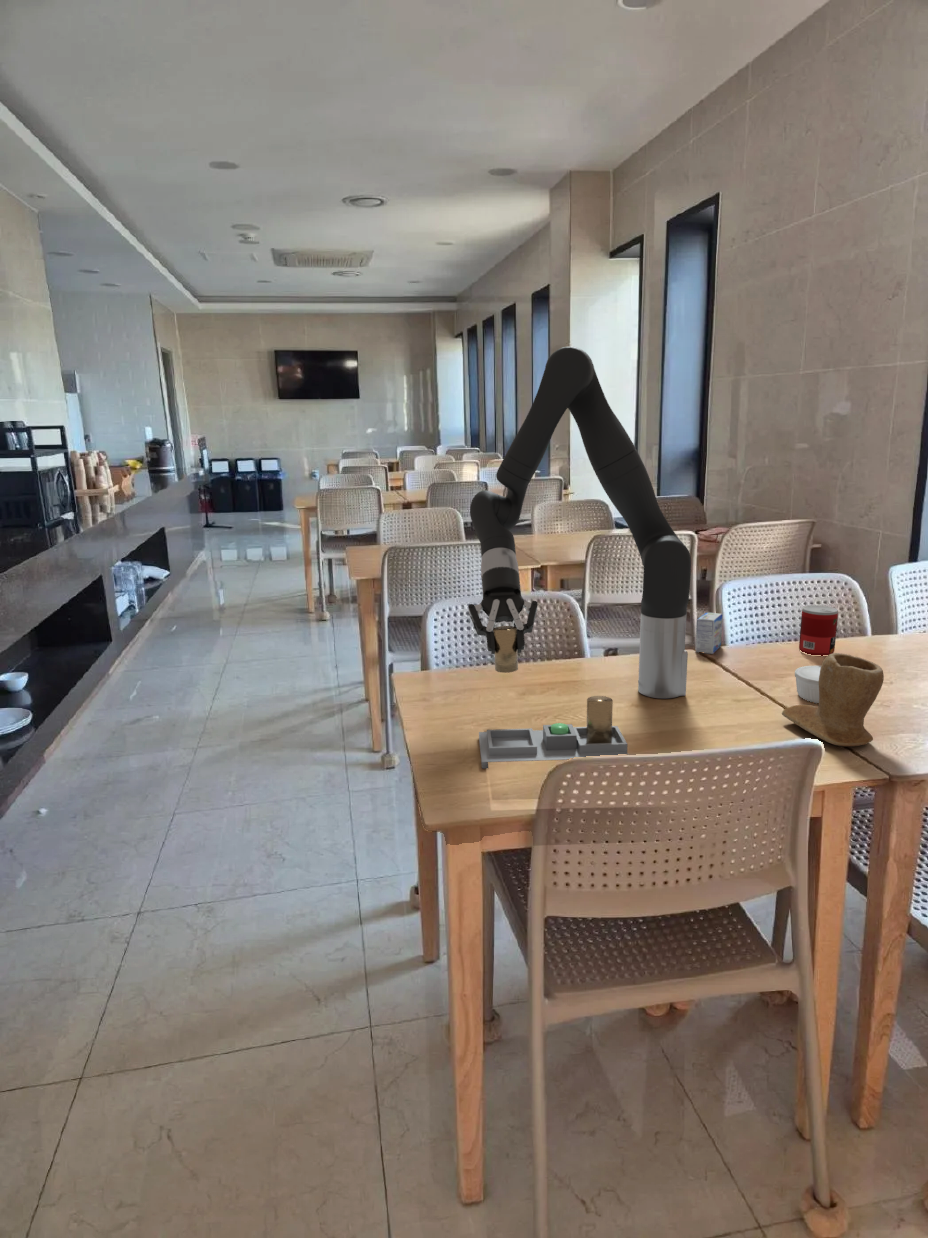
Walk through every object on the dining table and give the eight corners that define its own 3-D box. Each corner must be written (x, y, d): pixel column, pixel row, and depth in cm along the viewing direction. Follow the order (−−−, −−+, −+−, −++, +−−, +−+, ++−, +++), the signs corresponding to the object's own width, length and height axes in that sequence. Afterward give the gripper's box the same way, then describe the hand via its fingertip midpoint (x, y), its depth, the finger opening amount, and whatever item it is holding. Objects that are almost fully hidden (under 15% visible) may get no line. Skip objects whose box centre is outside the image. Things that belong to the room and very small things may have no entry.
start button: (566, 735, 139) (566, 723, 138) (569, 742, 136) (569, 729, 135) (549, 736, 139) (549, 723, 138) (552, 742, 136) (552, 730, 135)
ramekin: (860, 696, 161) (863, 672, 159) (841, 711, 153) (844, 686, 151) (805, 685, 168) (807, 661, 167) (784, 699, 160) (786, 674, 159)
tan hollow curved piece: (891, 747, 136) (901, 665, 132) (831, 754, 133) (839, 671, 130) (834, 716, 150) (841, 641, 147) (779, 722, 148) (785, 646, 144)
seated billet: (608, 737, 140) (609, 695, 138) (613, 747, 135) (615, 704, 133) (584, 738, 140) (585, 696, 138) (588, 748, 135) (589, 704, 133)
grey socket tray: (614, 734, 144) (614, 714, 143) (630, 764, 132) (630, 743, 131) (478, 738, 144) (478, 718, 143) (481, 768, 131) (481, 747, 130)
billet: (517, 664, 151) (515, 625, 149) (519, 672, 147) (517, 631, 145) (494, 666, 151) (492, 626, 149) (495, 673, 147) (493, 632, 145)
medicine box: (712, 654, 191) (714, 620, 189) (694, 652, 193) (696, 618, 191) (721, 646, 197) (723, 613, 195) (703, 644, 199) (705, 611, 197)
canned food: (837, 657, 186) (842, 612, 183) (802, 656, 188) (806, 612, 185) (829, 648, 193) (834, 605, 191) (795, 647, 195) (799, 604, 192)
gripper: (464, 567, 152) (468, 643, 143) (537, 563, 152) (545, 639, 143) (465, 588, 158) (469, 662, 150) (535, 584, 158) (543, 658, 150)
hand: (506, 651), depth 146 cm, fingers closed on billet, 4 cm apart
